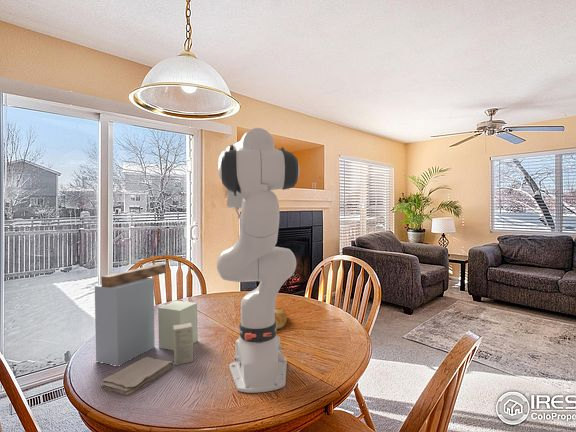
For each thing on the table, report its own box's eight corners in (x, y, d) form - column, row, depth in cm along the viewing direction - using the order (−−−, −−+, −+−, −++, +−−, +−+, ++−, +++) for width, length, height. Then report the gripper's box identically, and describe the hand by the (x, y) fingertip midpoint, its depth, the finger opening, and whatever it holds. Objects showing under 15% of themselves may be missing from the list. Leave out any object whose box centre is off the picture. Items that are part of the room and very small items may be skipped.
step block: (177, 337, 125) (176, 300, 125) (197, 340, 121) (197, 302, 121) (158, 347, 116) (158, 307, 115) (180, 351, 112) (179, 310, 112)
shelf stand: (134, 343, 120) (133, 276, 119) (154, 346, 116) (153, 278, 116) (96, 362, 105) (94, 286, 104) (117, 367, 101) (116, 288, 101)
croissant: (273, 342, 128) (281, 326, 126) (253, 329, 130) (261, 313, 129) (288, 323, 148) (295, 309, 146) (270, 312, 150) (277, 298, 149)
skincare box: (192, 356, 108) (192, 322, 108) (193, 362, 104) (193, 326, 104) (173, 359, 106) (173, 324, 106) (173, 365, 102) (173, 329, 102)
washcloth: (97, 390, 89) (97, 379, 89) (146, 361, 106) (146, 353, 106) (128, 399, 85) (128, 387, 85) (174, 368, 101) (174, 358, 101)
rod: (159, 272, 128) (159, 263, 128) (165, 272, 126) (165, 264, 126) (101, 286, 103) (101, 276, 103) (109, 287, 102) (109, 277, 102)
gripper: (225, 184, 126) (225, 218, 126) (275, 185, 129) (275, 218, 129) (226, 186, 133) (226, 218, 132) (273, 187, 136) (273, 218, 136)
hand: (250, 218), depth 131 cm, fingers open, 8 cm apart
